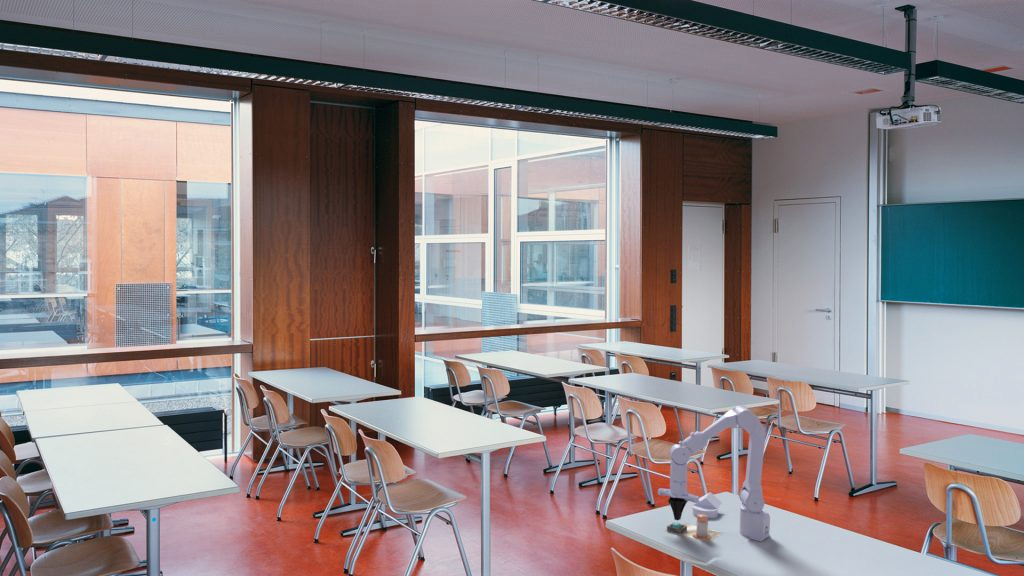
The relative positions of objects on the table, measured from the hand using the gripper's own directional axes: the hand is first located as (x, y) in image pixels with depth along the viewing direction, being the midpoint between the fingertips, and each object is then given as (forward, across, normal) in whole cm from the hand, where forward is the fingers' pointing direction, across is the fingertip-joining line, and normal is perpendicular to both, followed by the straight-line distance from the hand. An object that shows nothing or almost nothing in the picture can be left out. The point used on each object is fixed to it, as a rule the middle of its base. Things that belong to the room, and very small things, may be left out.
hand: (677, 519), depth 273 cm
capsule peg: (+4, +9, 0) cm, 10 cm away
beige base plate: (+5, +5, +3) cm, 7 cm away
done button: (+5, 0, 0) cm, 5 cm away
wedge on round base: (+5, -1, +25) cm, 25 cm away
